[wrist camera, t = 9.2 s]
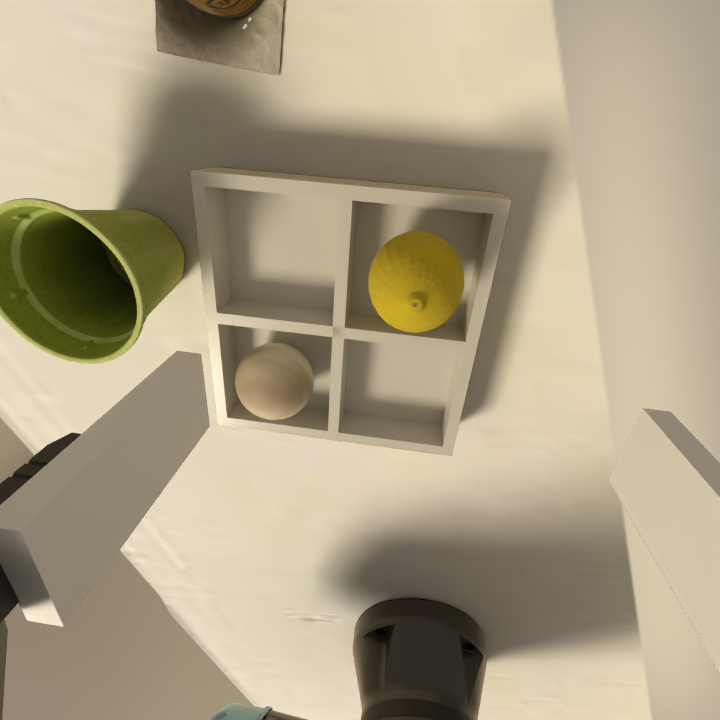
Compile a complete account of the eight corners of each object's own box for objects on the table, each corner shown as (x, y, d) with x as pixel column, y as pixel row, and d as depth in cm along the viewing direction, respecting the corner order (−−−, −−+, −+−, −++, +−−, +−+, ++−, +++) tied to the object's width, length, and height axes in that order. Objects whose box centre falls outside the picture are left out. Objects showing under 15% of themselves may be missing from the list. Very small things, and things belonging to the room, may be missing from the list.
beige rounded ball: (320, 396, 34) (303, 440, 29) (253, 388, 34) (225, 430, 29) (322, 334, 31) (304, 371, 26) (249, 326, 31) (218, 360, 27)
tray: (448, 428, 35) (451, 456, 32) (234, 400, 36) (218, 424, 33) (500, 193, 26) (511, 200, 23) (215, 166, 27) (189, 170, 24)
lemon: (456, 214, 26) (470, 242, 19) (459, 298, 28) (473, 350, 21) (369, 226, 27) (352, 257, 20) (380, 306, 29) (368, 358, 22)
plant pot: (150, 156, 27) (48, 162, 20) (234, 280, 31) (174, 326, 23) (59, 223, 30) (-61, 251, 23) (144, 330, 34) (65, 385, 26)
